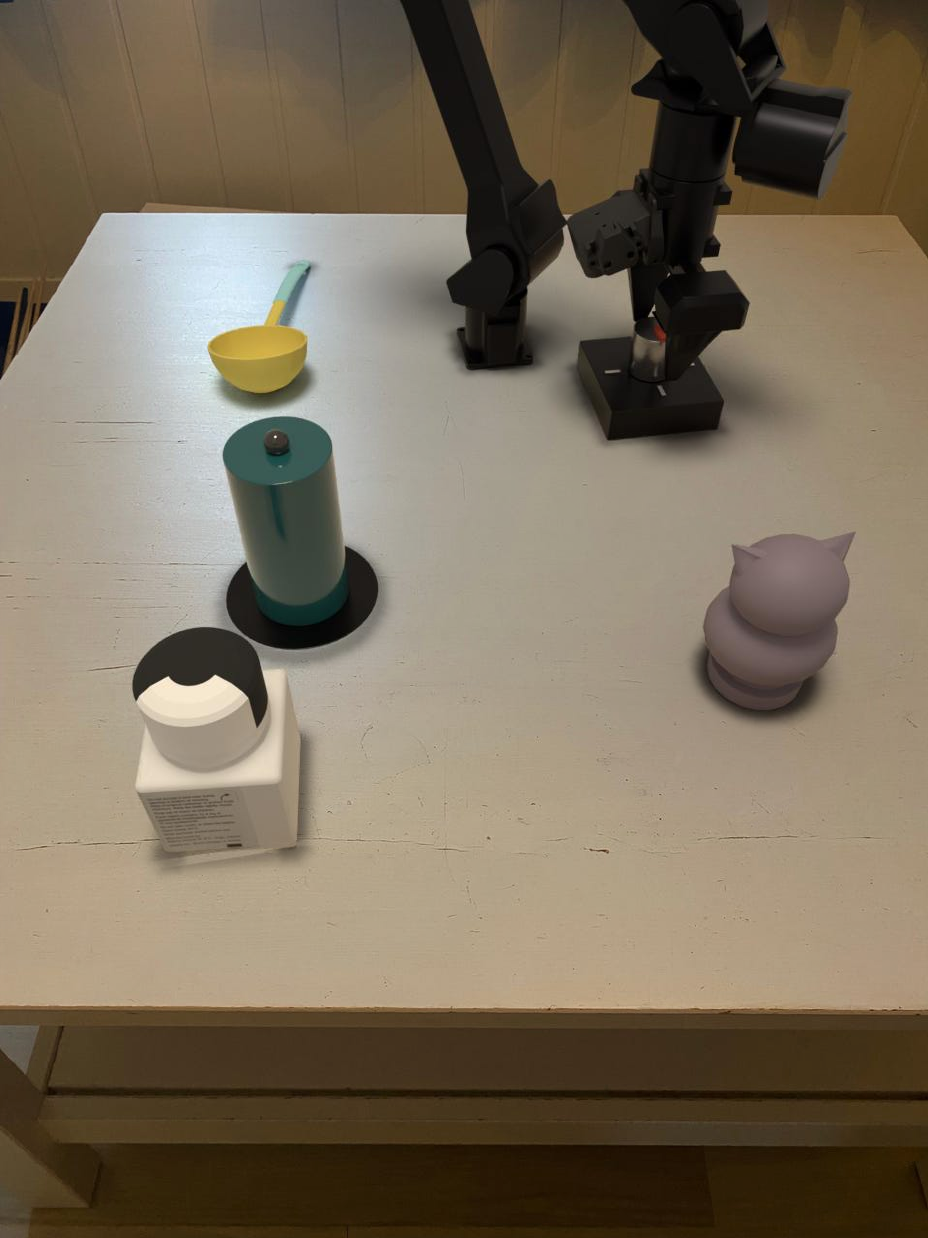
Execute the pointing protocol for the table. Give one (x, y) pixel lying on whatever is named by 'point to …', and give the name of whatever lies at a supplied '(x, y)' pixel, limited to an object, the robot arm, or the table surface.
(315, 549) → the teal lidded canister
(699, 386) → the panel
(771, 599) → the cat figurine
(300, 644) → the disc
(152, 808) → the container
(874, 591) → the table surface
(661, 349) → the knob
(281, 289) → the ladle
